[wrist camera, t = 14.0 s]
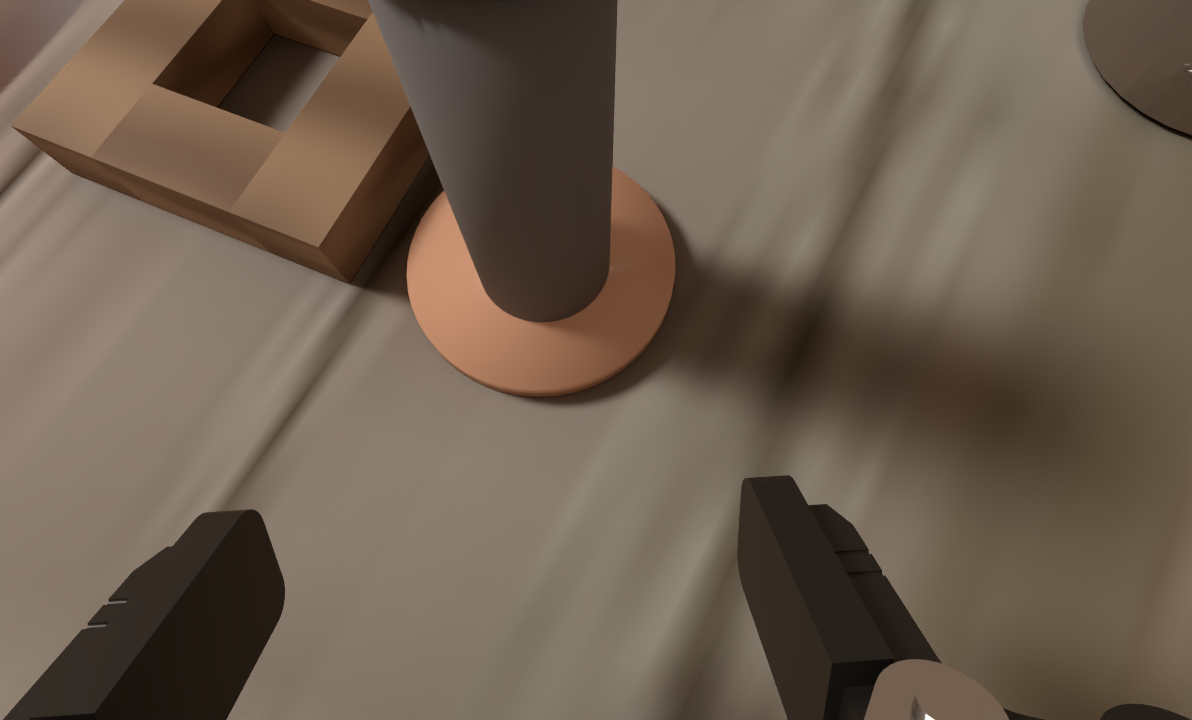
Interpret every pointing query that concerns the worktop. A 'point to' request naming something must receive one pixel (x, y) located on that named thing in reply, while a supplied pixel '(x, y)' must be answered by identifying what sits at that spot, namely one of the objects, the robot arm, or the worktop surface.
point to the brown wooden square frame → (239, 125)
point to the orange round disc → (544, 349)
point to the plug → (517, 137)
